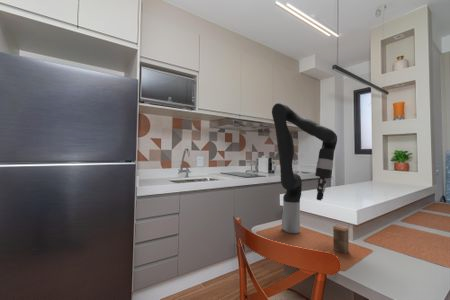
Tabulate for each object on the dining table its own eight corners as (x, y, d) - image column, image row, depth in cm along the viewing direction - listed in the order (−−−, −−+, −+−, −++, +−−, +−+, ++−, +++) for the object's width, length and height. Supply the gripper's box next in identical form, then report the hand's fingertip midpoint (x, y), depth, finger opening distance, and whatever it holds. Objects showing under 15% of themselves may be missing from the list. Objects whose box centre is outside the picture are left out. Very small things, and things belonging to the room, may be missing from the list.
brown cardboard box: (333, 249, 96) (333, 225, 96) (337, 247, 98) (337, 224, 98) (344, 254, 92) (344, 229, 92) (348, 252, 94) (348, 227, 94)
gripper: (317, 167, 115) (313, 196, 114) (314, 166, 103) (310, 198, 102) (332, 170, 111) (328, 200, 110) (331, 168, 99) (326, 202, 98)
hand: (319, 199), depth 106 cm, fingers open, 8 cm apart
